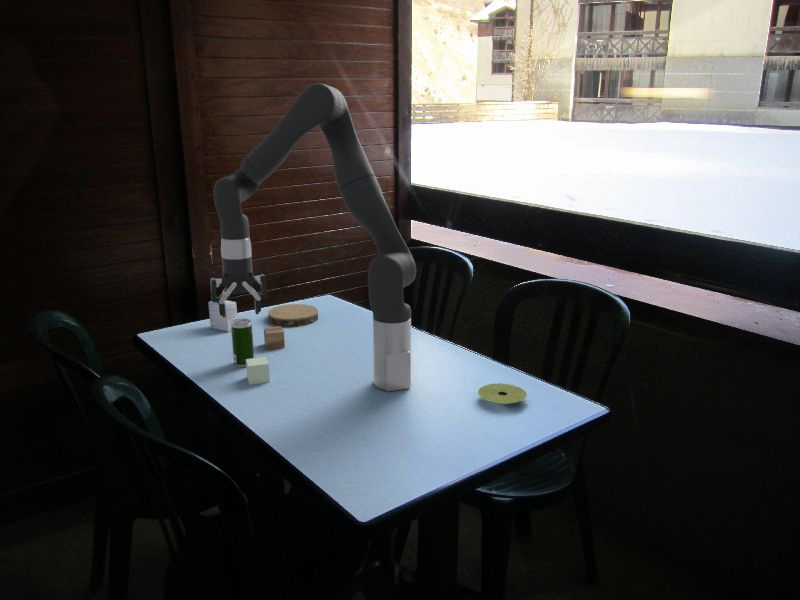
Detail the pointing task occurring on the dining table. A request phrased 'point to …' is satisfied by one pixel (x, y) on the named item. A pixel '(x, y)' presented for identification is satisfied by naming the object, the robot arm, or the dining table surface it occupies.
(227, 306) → the medicine box
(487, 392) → the olive yellow disc
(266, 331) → the walnut block
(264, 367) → the sage block
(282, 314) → the round wood slice
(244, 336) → the beer can
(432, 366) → the dining table surface
